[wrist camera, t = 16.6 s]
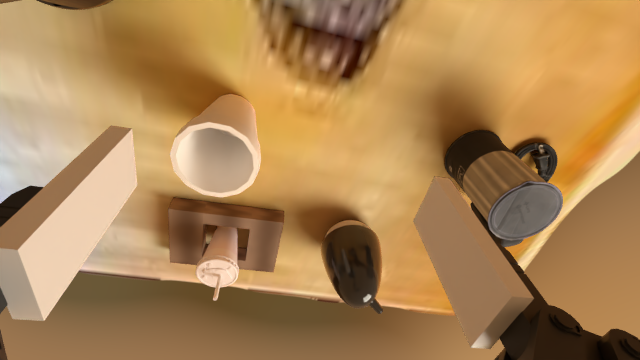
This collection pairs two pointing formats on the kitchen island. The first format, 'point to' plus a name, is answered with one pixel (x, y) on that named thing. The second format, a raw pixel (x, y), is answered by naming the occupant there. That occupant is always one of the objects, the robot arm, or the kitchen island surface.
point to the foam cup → (219, 148)
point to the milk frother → (505, 185)
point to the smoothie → (220, 260)
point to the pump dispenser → (353, 263)
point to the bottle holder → (195, 214)
